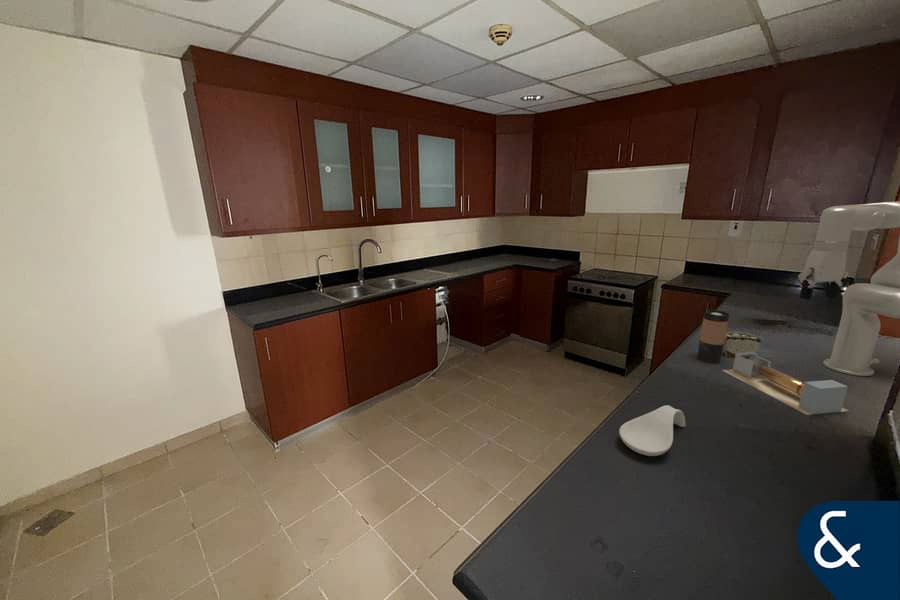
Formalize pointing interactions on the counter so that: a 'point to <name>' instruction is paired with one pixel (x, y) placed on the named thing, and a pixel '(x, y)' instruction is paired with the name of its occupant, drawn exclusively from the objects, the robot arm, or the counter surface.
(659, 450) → the spoon rest
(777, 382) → the tube
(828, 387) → the socket
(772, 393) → the board
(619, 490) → the counter surface
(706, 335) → the travel mug
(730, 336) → the food container
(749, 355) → the sleeve
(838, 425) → the counter surface
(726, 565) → the counter surface
